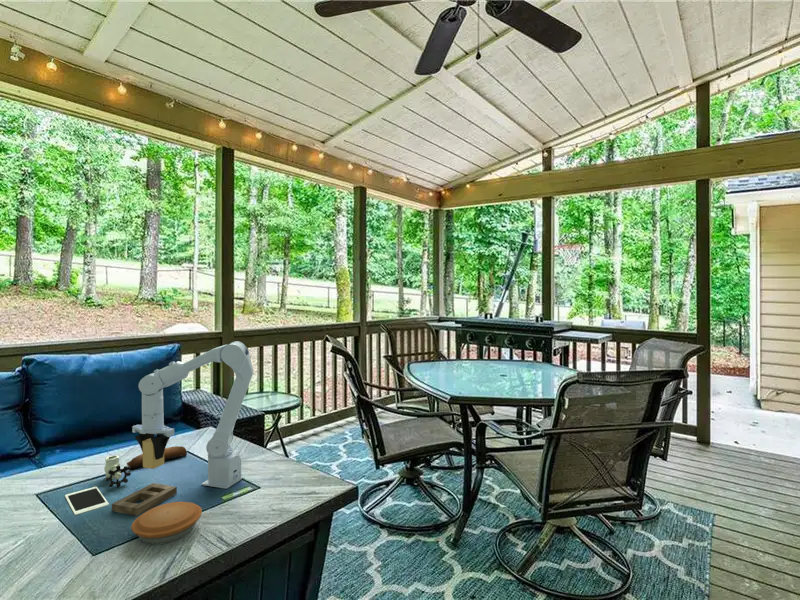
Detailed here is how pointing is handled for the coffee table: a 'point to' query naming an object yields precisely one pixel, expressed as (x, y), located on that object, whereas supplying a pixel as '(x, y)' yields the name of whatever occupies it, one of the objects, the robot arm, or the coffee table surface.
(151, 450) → the square peg
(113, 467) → the valve
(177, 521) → the pie
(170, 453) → the sunglasses case
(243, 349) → the robot arm
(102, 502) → the cell phone
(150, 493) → the socket block
